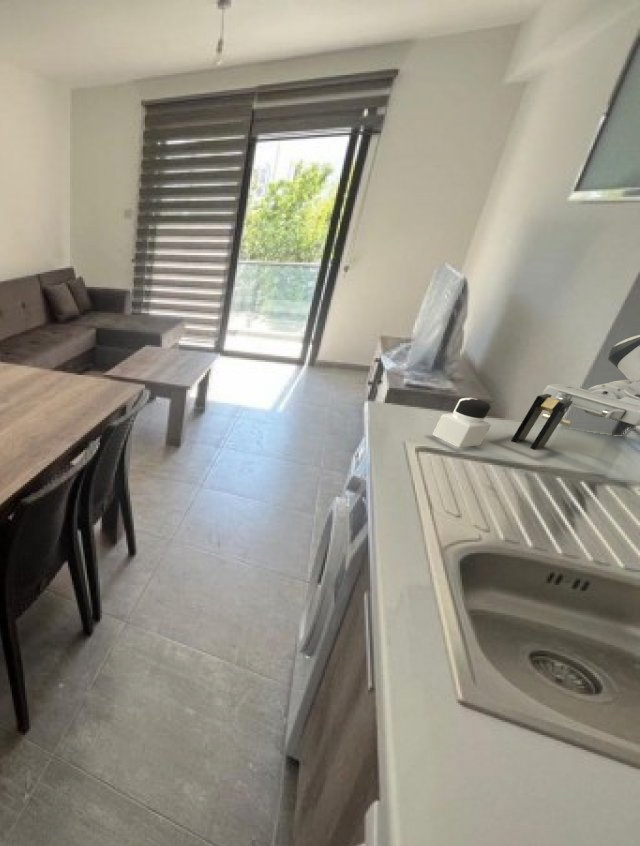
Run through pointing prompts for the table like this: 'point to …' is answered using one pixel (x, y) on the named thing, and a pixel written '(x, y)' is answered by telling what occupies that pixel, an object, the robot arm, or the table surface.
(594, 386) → the robot arm
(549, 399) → the switch lever
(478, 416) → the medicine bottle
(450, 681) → the table surface
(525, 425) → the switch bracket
